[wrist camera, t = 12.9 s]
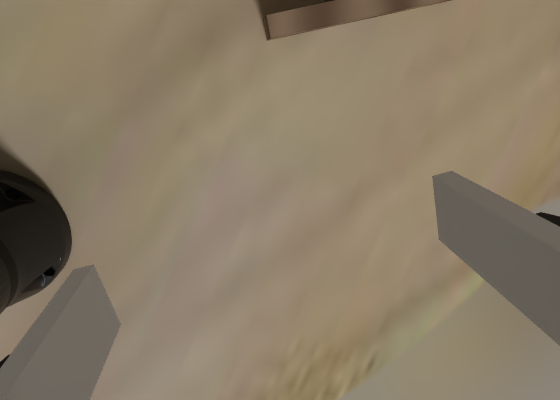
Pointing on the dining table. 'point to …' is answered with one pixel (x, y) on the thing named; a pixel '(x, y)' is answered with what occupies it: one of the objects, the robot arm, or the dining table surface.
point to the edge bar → (334, 14)
